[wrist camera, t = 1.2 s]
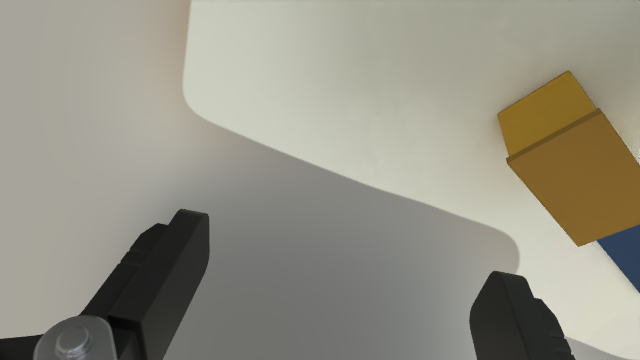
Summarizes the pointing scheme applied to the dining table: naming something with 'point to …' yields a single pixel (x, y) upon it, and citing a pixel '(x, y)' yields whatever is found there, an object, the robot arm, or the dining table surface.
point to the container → (573, 161)
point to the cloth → (625, 252)
